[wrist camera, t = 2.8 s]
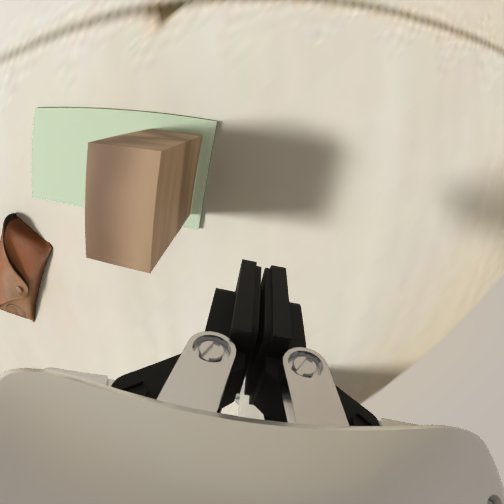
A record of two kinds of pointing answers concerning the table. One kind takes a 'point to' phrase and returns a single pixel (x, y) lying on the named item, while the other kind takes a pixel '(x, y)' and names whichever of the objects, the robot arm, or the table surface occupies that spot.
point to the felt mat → (95, 128)
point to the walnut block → (138, 194)
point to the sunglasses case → (21, 267)
